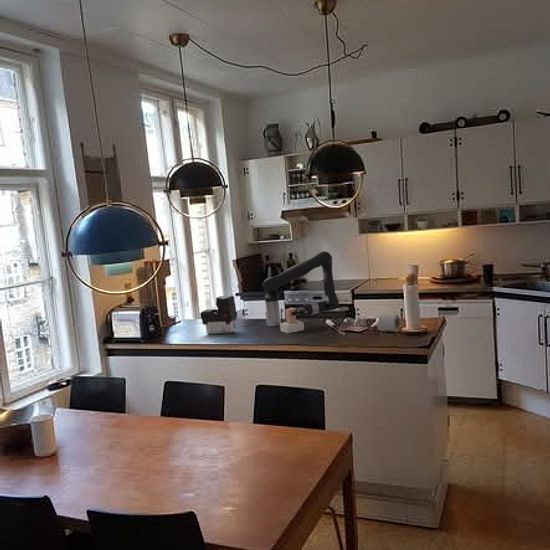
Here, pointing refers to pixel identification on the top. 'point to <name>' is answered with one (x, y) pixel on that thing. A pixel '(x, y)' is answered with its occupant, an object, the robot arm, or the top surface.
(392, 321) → the toilet paper
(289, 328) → the white square socket block
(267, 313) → the robot arm
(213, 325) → the bill acceptor
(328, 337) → the top surface
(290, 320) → the tall brown pillar
